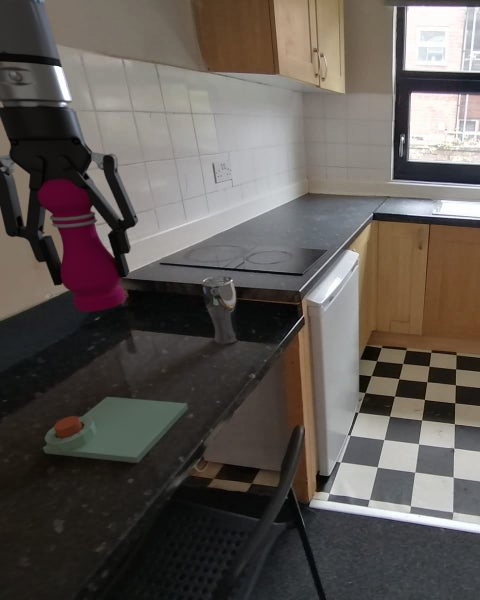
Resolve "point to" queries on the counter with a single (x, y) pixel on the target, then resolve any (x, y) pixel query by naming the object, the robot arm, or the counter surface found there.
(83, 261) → the pepper mill
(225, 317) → the beer glass
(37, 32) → the robot arm
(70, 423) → the power button
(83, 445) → the scale
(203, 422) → the counter surface
